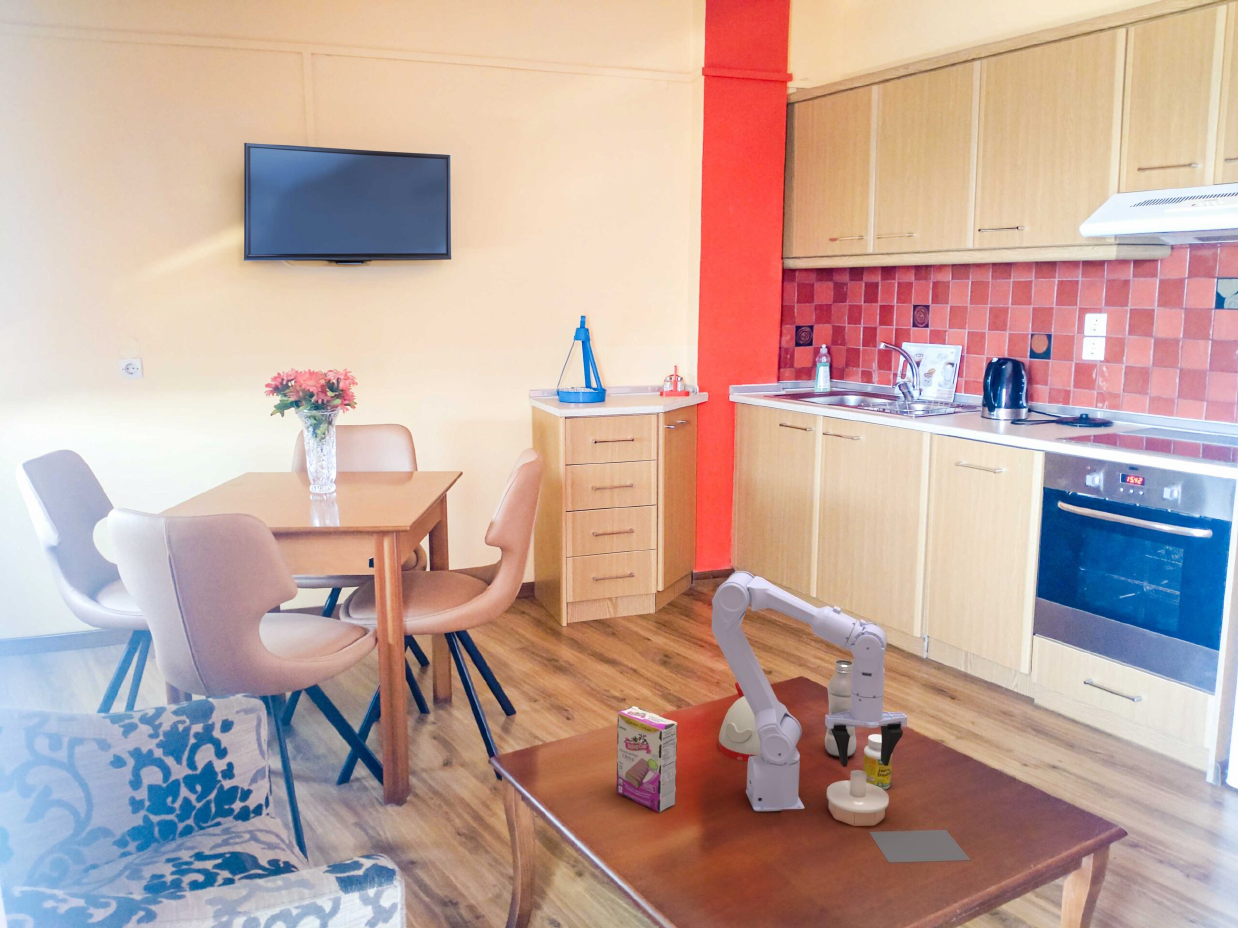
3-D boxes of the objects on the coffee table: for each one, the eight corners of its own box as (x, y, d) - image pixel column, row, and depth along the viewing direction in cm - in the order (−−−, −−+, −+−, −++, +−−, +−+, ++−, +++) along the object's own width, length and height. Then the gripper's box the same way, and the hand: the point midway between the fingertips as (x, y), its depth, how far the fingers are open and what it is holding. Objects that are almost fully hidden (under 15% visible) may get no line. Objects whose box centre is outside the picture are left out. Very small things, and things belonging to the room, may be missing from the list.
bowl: (838, 828, 173) (839, 810, 173) (823, 803, 182) (824, 786, 182) (889, 827, 174) (890, 809, 173) (872, 802, 183) (873, 784, 183)
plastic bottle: (860, 752, 205) (864, 660, 203) (849, 763, 200) (853, 670, 197) (830, 744, 209) (835, 655, 206) (819, 756, 203) (823, 663, 200)
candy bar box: (614, 794, 185) (615, 711, 183) (632, 785, 189) (633, 704, 186) (659, 814, 177) (661, 728, 175) (676, 805, 181) (678, 720, 179)
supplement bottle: (875, 775, 194) (877, 730, 193) (896, 786, 190) (899, 739, 189) (856, 782, 191) (858, 736, 190) (877, 793, 187) (880, 745, 186)
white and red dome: (738, 729, 216) (740, 664, 214) (795, 745, 208) (798, 678, 206) (706, 750, 205) (708, 682, 203) (765, 768, 197) (767, 697, 195)
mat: (888, 865, 161) (888, 862, 161) (868, 834, 171) (868, 831, 171) (970, 863, 162) (970, 859, 162) (945, 832, 172) (946, 829, 172)
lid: (840, 814, 171) (841, 788, 170) (817, 786, 182) (818, 761, 181) (899, 810, 173) (900, 785, 172) (873, 782, 184) (874, 758, 183)
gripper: (834, 701, 170) (831, 774, 172) (914, 699, 171) (911, 772, 173) (822, 686, 177) (820, 757, 179) (900, 685, 178) (896, 755, 180)
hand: (864, 763), depth 177 cm, fingers open, 7 cm apart
